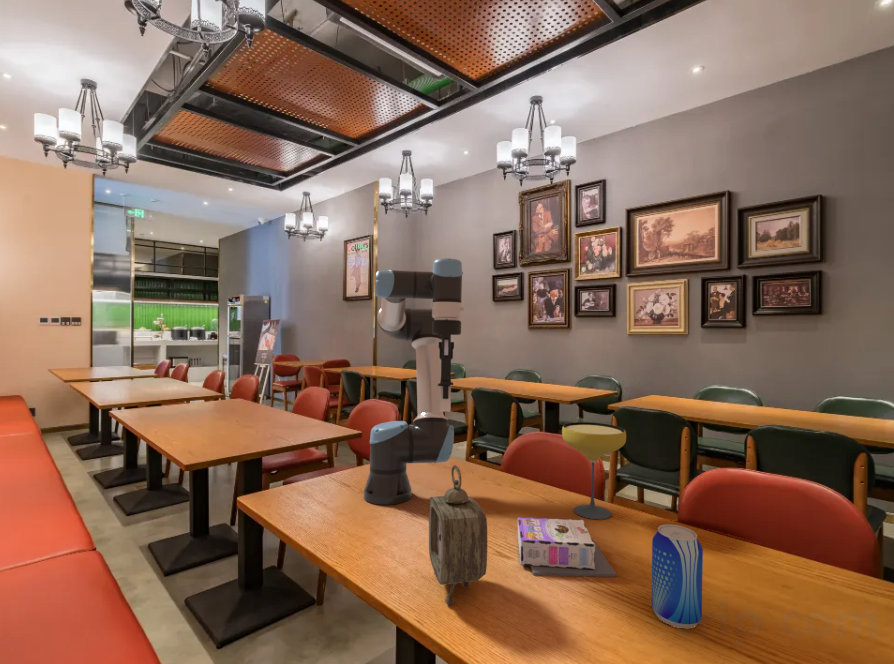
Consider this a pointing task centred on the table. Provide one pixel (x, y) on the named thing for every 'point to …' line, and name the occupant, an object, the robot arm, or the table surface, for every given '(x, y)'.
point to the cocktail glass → (593, 453)
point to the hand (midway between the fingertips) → (445, 410)
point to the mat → (600, 569)
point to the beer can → (677, 576)
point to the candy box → (555, 543)
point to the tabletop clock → (457, 537)
